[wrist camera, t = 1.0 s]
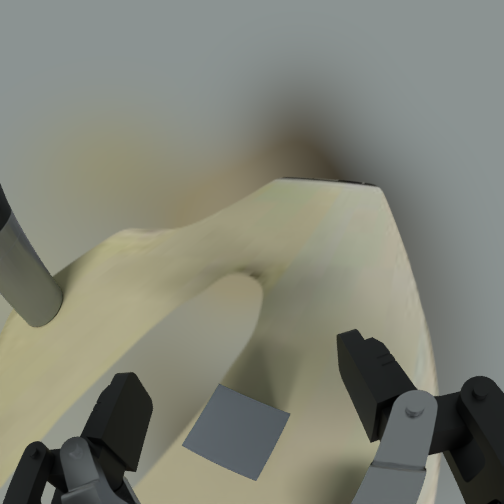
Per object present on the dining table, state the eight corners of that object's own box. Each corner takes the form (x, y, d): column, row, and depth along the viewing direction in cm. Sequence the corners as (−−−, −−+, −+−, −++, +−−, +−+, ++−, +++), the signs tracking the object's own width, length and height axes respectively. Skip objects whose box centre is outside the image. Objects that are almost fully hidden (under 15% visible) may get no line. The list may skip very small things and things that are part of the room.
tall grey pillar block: (255, 474, 21) (256, 480, 14) (204, 451, 23) (181, 445, 16) (279, 429, 25) (290, 413, 18) (229, 408, 26) (219, 383, 19)
